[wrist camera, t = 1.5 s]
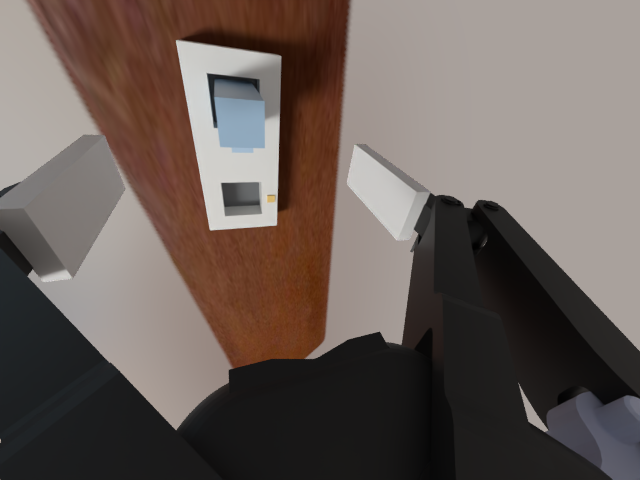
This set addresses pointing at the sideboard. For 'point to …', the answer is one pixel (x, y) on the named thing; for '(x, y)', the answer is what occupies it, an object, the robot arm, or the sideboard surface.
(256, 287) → the sideboard surface
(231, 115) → the plug
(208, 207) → the panel
